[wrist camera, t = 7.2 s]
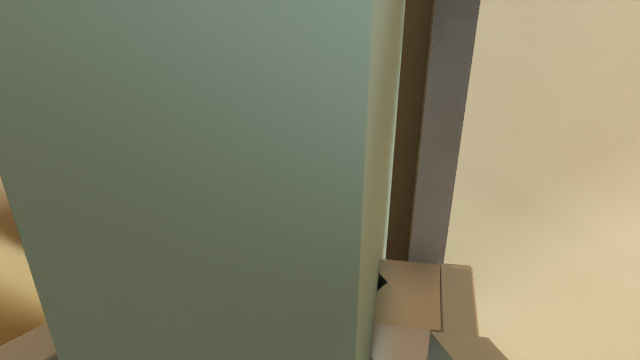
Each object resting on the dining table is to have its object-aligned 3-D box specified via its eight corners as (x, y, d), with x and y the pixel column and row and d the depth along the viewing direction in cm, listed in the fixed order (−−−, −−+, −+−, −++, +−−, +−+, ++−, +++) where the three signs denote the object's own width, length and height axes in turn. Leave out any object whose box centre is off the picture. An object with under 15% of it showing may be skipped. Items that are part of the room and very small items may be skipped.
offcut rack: (511, -282, 15) (566, -351, 9) (429, 323, 25) (429, 479, 19) (-42, -273, 17) (-304, -323, 11) (96, 285, 27) (2, 415, 21)
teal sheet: (420, -193, 10) (384, -225, 2) (376, 376, 17) (332, 811, 10) (281, -193, 10) (-128, -223, 3) (295, 365, 18) (191, 779, 10)
